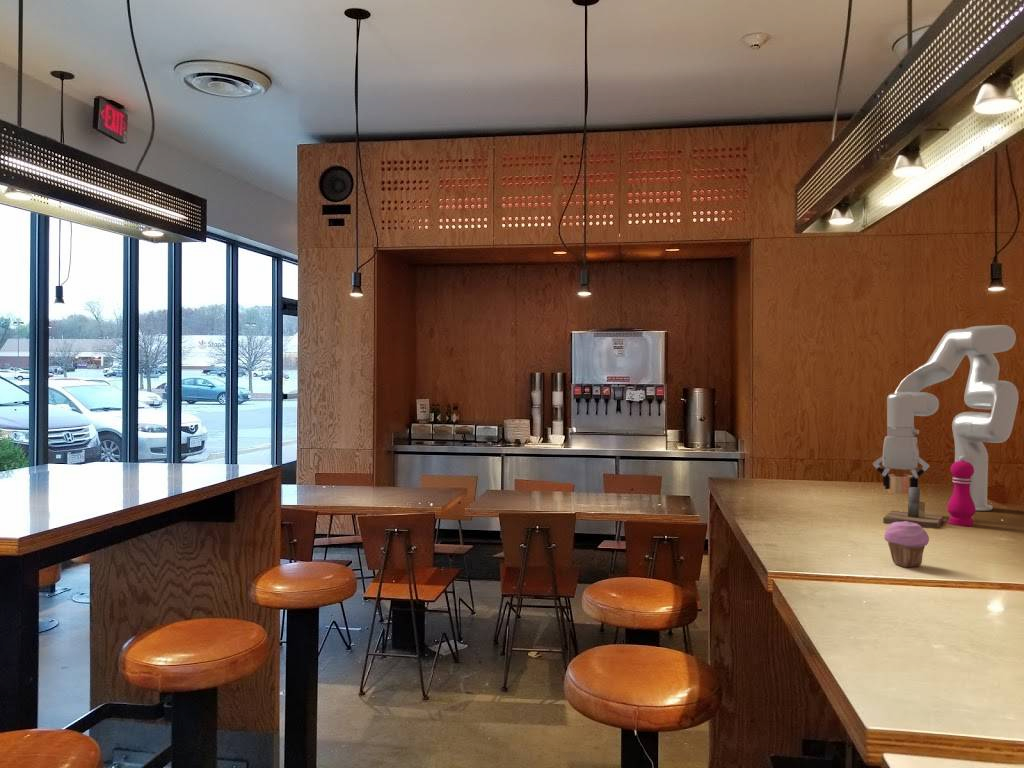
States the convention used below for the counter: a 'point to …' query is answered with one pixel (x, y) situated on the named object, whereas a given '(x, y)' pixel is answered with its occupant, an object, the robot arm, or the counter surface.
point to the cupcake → (906, 543)
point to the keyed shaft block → (914, 512)
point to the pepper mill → (961, 494)
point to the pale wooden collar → (899, 483)
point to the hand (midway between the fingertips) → (900, 488)
